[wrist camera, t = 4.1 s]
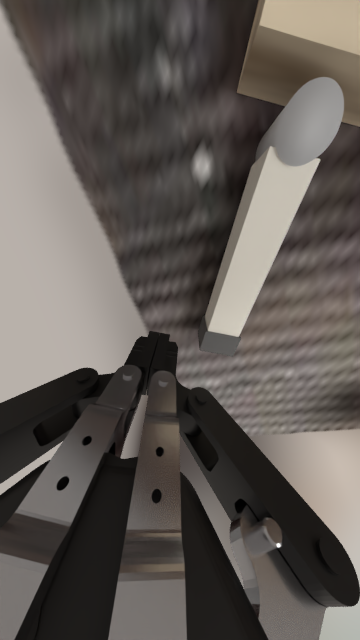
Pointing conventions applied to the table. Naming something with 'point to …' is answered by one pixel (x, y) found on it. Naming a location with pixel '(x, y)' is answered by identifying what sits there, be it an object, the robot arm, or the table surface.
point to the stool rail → (303, 50)
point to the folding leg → (269, 207)
